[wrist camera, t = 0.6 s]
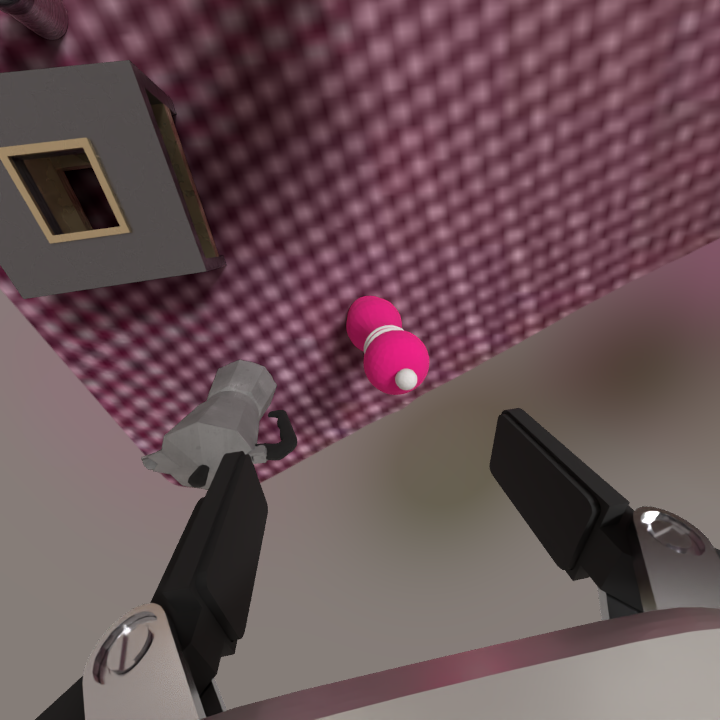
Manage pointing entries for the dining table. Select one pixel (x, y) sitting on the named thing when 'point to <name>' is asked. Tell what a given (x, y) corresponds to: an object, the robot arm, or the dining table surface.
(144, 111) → the grey square socket block
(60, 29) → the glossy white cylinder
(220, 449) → the coffeepot
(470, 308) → the dining table surface
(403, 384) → the pepper mill
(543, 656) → the robot arm
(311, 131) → the dining table surface
